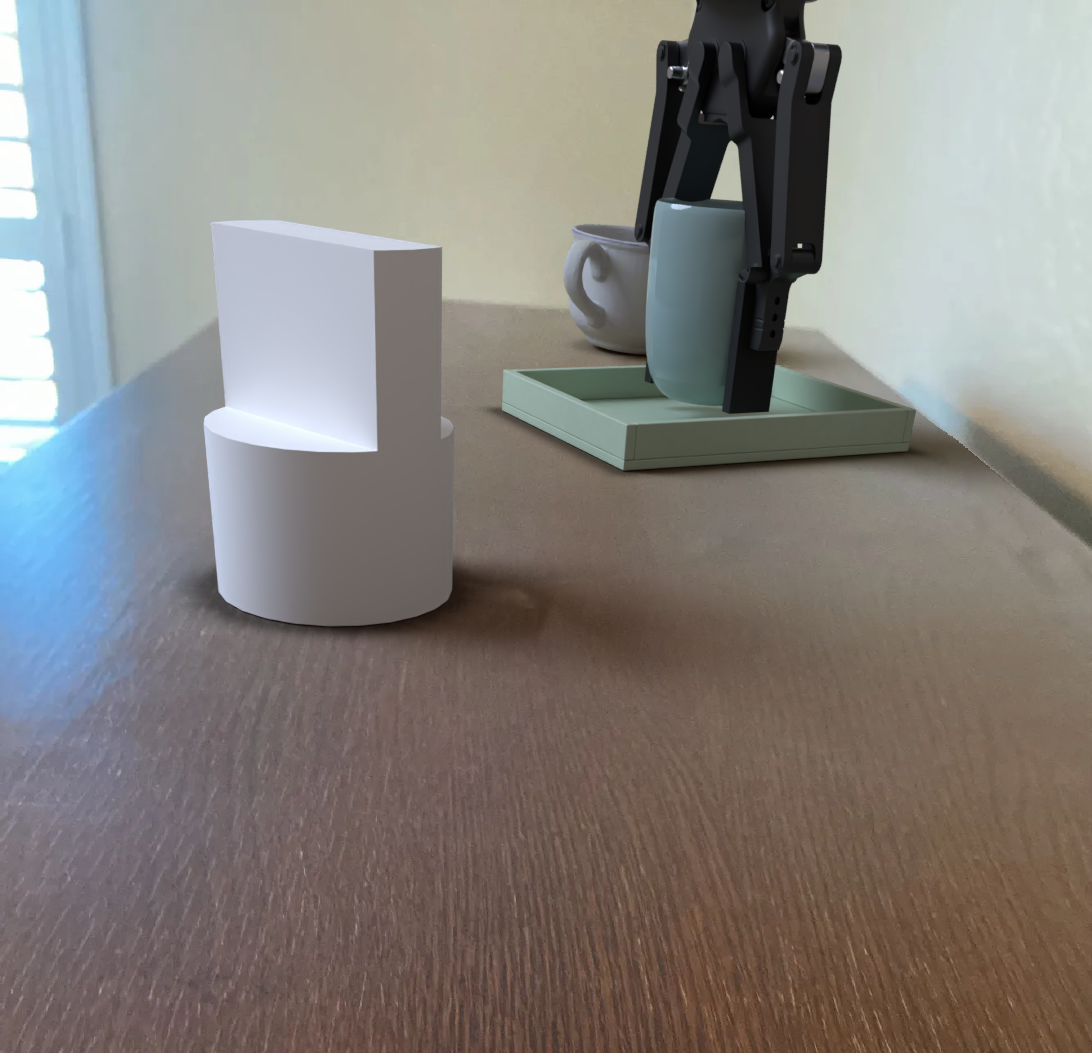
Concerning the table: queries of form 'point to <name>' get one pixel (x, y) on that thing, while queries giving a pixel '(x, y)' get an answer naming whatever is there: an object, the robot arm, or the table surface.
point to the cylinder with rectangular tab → (329, 426)
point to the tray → (701, 419)
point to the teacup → (608, 286)
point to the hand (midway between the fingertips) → (704, 395)
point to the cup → (693, 296)
